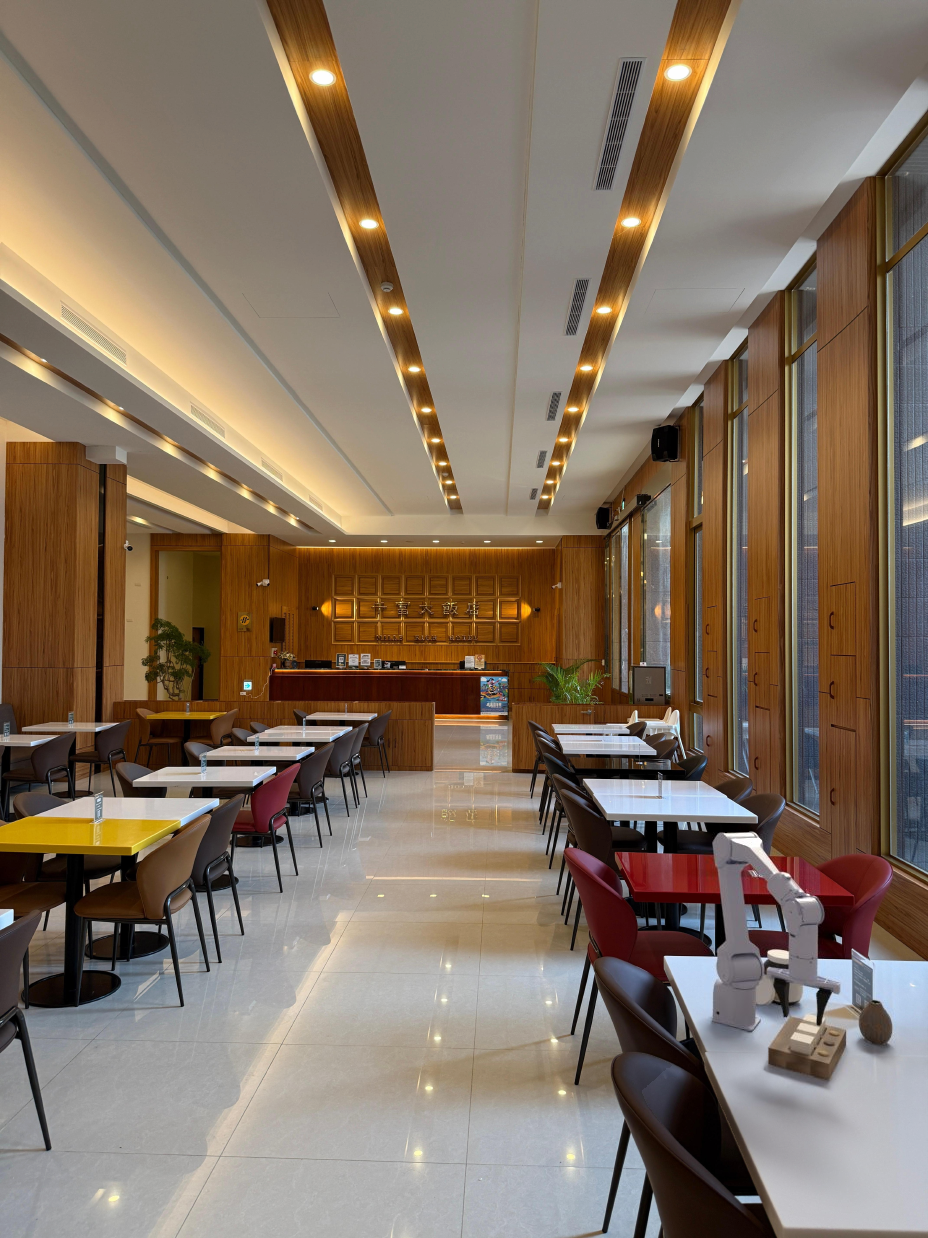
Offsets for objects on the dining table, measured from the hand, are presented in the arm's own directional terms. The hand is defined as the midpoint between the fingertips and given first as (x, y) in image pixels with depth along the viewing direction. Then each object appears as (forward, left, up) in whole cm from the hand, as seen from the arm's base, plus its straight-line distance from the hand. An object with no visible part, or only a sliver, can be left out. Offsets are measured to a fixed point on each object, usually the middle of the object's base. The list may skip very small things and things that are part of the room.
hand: (802, 1020), depth 179 cm
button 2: (0, +12, -8) cm, 14 cm away
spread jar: (-13, +32, -10) cm, 36 cm away
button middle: (0, +6, -8) cm, 10 cm away
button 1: (0, 0, -8) cm, 8 cm away
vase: (+11, +23, -10) cm, 27 cm away
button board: (0, +6, -9) cm, 11 cm away
